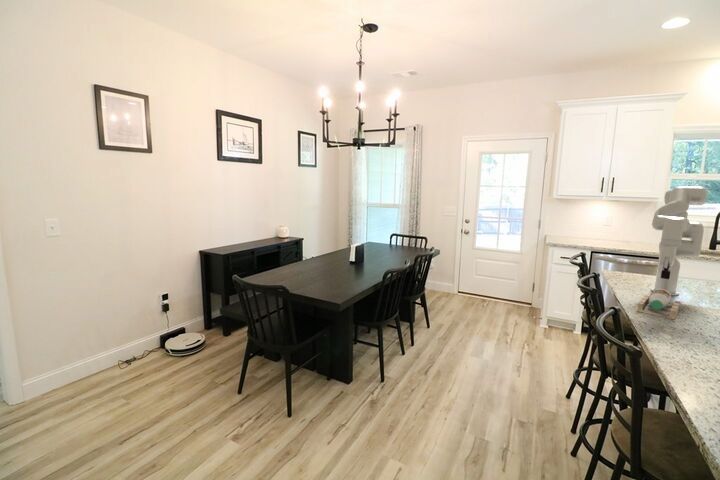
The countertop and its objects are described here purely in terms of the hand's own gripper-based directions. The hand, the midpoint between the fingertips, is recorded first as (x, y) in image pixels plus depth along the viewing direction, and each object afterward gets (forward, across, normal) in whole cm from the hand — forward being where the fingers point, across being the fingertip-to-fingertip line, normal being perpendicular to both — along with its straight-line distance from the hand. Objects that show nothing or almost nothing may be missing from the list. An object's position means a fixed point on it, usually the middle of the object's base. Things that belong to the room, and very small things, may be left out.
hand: (664, 278), depth 175 cm
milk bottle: (+10, -4, -1) cm, 11 cm away
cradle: (+15, +7, 0) cm, 17 cm away
